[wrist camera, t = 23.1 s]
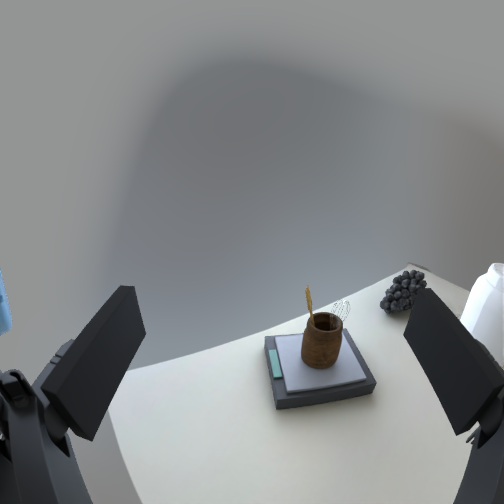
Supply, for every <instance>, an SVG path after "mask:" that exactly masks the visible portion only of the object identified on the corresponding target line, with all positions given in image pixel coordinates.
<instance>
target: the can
mask: <svg viewBox="0 0 504 504" xmlns="http://www.w3.org/2000/svg"><path fill="white" fill-rule="evenodd" d="M460 322H461V323H462V324H463V325H464V326H465V328H466V329H467V330H468V331H469V332H470V334H471V335H472V336H473V337H474V339H477V340H478V341H479V342H481V343H482V344H483V345H485V347H486V348H487V349H488V351H489V352H490V355H491V354H492V356H493V357H494V358H495V361H497V362H498V364H499V365H500V366H502V365H503V363H504V264H502V263H494V264H492V265H491V266H490V268H489V270H488V273H486V274H484V275H482V276H480V277H479V278H478V279H477V281H476V282H475V284H474V286H473V287H472V290H471V293H470V295H469V298H468V301H467V304H466V306H465V309H464V312H463V314H462V317H461V319H460Z"/></svg>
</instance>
